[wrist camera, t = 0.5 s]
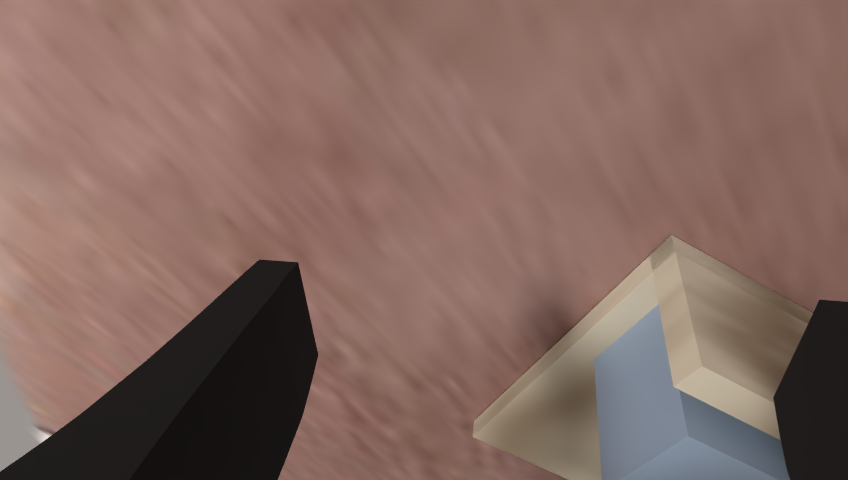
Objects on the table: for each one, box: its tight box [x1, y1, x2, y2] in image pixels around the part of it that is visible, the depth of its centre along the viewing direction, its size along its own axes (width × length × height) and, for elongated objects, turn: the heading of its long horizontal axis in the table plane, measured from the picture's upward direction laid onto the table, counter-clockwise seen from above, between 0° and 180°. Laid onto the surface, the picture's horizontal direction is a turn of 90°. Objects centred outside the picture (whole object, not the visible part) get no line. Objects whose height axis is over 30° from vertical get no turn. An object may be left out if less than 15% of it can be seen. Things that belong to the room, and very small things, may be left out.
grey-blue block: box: [594, 305, 790, 480], centre depth 20 cm, size 8×4×5 cm, turn 62°
